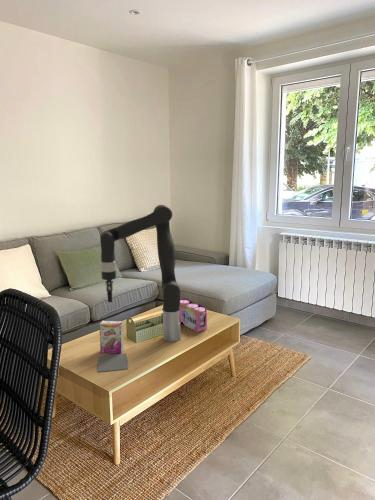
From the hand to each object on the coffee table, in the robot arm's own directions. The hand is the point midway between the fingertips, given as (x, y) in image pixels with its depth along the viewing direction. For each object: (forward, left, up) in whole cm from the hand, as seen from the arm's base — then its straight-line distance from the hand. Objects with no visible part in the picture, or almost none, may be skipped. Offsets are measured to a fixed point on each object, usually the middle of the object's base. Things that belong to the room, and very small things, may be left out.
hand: (110, 301), depth 206 cm
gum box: (-48, -18, -25) cm, 57 cm away
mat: (0, +20, -25) cm, 32 cm away
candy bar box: (0, +9, -25) cm, 27 cm away
